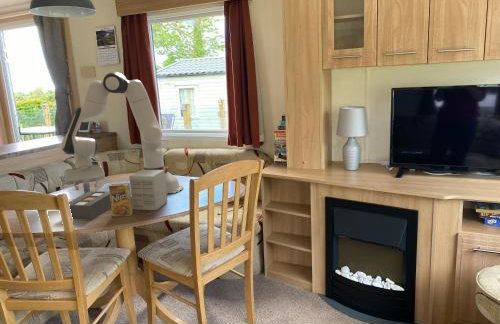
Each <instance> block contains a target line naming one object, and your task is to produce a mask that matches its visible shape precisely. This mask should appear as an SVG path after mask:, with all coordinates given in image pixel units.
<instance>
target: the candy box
mask: <svg viewBox="0 0 500 324" xmlns="http://www.w3.org/2000/svg"><path fill="white" fill-rule="evenodd" d="M108 192H110V200H111V208H110V209H111V215H112V216H111V217H131V216H132V215H133V210H134V209H133V205H132V196H131V188H130V182H129V183H111V184H110V185H108Z"/></svg>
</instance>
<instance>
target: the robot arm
mask: <svg viewBox="0 0 500 324" xmlns="http://www.w3.org/2000/svg"><path fill="white" fill-rule="evenodd" d="M110 94H124V95H125V97H126V98H127V102H128V103H129V107H130V109H131V112H132V115H133V117H134V120H135V123H136V126H137V127H138V131H139V134H140V141H141V143H140V144H141V149H142V158H143V170H164V173H165V183H166V193H167V195H169V194H168V193H173V194H177V193H179V192H181V191H182V190H183V189H184V185H182V184H180V182H179V179H178V177H176V176H175V175H174V174H171V173H170V172H169V171H168V168H169V166H166V165H165V163H164V152H163V147H162V140H161V139H162V137H163V132H162V129H161V126H160V123H159V122H158V119H157V116H156V114H155V111H154V108H153V105H152V103H151V100H150V97H149V95H148V91H147V90H146V88H145V86H144V85H143V83H142V81H141V80H139V79H131V80H129V79H128V77H127V76H126V74H124V73H123V72H120V71H112V72H108V73H107V74H105V76H104V77H103V79H102V80H97V79H96V80H92V81H90V83H89V85H88V87H87V89H86V93H85V97H84V101H83V104H82V105H80V106H79V107H77V108H76V109H75V111H74V113H73V115H72V117H71V120H70V123H69V125H68V127H67V130H66V133H65V135H64V136H63V140H62V141H61V146H60V147H61V150H62V151H63V152H64V153H65V154H66V155H73V156H74V158H73V159H75V161H74V166H75V168H66V169H65V170H64V171H63V174H64V175H63V176H65V178H64V181H65V184H66V185H67V186H69V185H72V186H73V187H74V188H75V191H80V190H79V189H80V187H79V185H77V184H83V179H86V178H89V183H93V182H95V183H93V184H94V188H98V185H99V183H100V181H104V180H105V179H106V176H105V175H106V174H105V170H104V169H103V167H102V164H101V162H100V161H96V160H95V161H94V160H92V158H93V157H95V156H96V155H97V154H98V152H99V143H98V141H97V140H96V139H95V138H91V137H85V136H84V137H83V136H76V135H77V133H78V130H79V128H80V125H81V123H82V122H83V121H86V120H90V119H94V118H98V117H100V116H102V115H103V114H104V113H105V111H106V108H107V103H108V98H109V96H110ZM180 190H181V191H180ZM176 192H177V193H176Z"/></svg>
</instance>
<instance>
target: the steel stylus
mask: <svg viewBox="0 0 500 324" xmlns="http://www.w3.org/2000/svg"><path fill="white" fill-rule="evenodd" d="M82 186H83V190H84V191H83V192H84V193H83V194H85V193H87V192H89V191H91V186H90V182H89V178H86V179H83V183H82Z"/></svg>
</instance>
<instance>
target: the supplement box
mask: <svg viewBox="0 0 500 324" xmlns="http://www.w3.org/2000/svg"><path fill="white" fill-rule="evenodd" d="M128 178H129V183H130V192H131V201H132V210H137V211H138V210H139V211H141V210H142V211H143V210H144V211H158V210H159V209H160V208H161V207H162V206H164V205H165V204H167V203H168V197H167V196H168V194H167V193H166V183H165V173H164V170H144V169H141V170H138V171H137V172H135V173H132V174H130V175H128Z"/></svg>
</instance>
